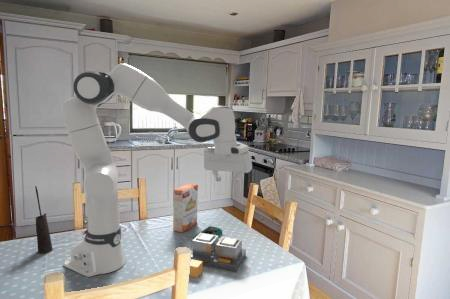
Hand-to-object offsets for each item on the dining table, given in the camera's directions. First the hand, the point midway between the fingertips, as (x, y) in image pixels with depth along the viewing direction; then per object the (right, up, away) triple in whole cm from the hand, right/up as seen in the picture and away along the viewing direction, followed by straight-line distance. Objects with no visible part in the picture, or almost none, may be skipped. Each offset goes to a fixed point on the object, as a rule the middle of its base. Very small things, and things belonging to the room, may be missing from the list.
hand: (228, 181), depth 122 cm
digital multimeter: (-9, -29, +22) cm, 38 cm away
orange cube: (-13, -33, -8) cm, 36 cm away
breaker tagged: (0, -26, 0) cm, 26 cm away
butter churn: (-76, -29, +8) cm, 82 cm away
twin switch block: (-5, -31, +3) cm, 32 cm away
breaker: (-9, -26, +4) cm, 27 cm away
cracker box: (-21, -26, +34) cm, 48 cm away
